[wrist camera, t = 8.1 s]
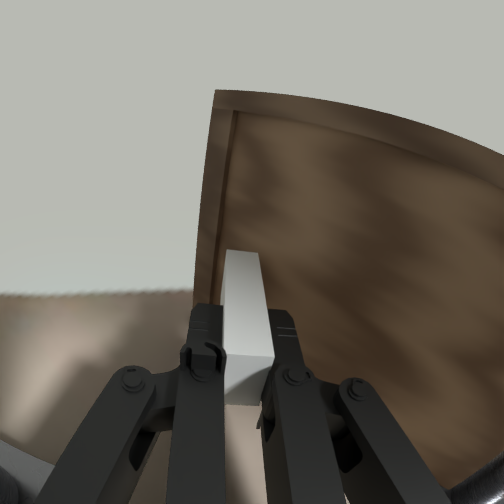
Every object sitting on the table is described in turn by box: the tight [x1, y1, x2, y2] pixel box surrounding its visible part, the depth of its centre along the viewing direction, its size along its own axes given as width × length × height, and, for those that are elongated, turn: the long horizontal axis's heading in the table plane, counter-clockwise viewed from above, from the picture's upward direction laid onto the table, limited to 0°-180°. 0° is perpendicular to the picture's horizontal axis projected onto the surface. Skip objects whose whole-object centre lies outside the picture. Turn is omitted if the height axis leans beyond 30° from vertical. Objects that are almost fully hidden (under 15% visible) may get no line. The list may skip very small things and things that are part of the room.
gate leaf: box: [193, 90, 504, 490], centre depth 11 cm, size 20×2×14 cm, turn 45°
